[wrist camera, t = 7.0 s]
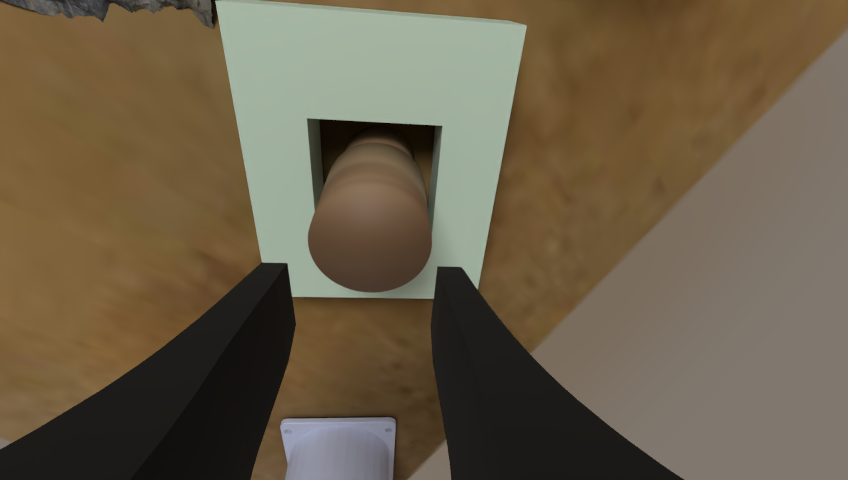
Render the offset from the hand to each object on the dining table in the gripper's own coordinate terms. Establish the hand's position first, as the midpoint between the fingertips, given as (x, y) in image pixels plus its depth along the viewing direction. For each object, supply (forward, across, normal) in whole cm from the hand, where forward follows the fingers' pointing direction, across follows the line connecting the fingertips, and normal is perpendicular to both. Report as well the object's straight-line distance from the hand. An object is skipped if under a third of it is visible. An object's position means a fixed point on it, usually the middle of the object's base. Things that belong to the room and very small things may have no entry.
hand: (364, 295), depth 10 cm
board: (+9, 0, 0) cm, 9 cm away
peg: (+9, 0, 0) cm, 9 cm away
